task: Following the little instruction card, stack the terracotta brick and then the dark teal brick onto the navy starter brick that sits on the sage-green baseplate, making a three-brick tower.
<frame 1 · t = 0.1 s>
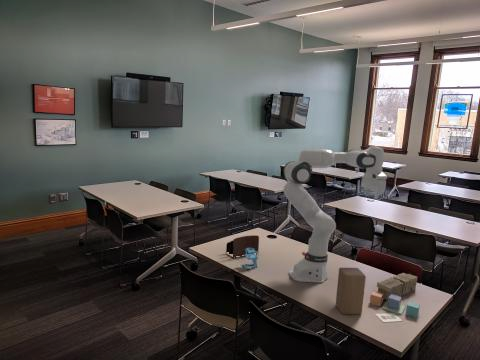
hand: (371, 197, 212), 48 cm above the table, fingers open, 8 cm apart
terracotta brick: (376, 303, 184), on the table
wooden block: (348, 310, 176), on the table
instruction card: (388, 317, 170), on the table
teal brick: (412, 314, 175), on the table
block tower: (396, 293, 195), on the table, touching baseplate
letter holder: (242, 254, 244), on the table
chair: (250, 267, 222), on the table
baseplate: (393, 308, 180), on the table
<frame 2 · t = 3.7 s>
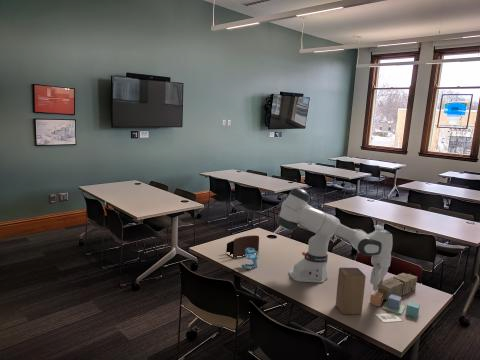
hand: (377, 287, 183), 9 cm above the table, fingers open, 8 cm apart
block tower: (396, 293, 195), on the table, touching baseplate, gripper
everything else where it was.
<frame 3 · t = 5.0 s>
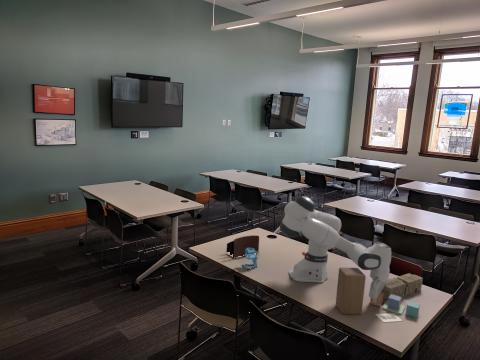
hand: (376, 299, 184), 2 cm above the table, fingers closed on terracotta brick, 5 cm apart
terracotta brick: (376, 302, 184), on the table, touching gripper
block tower: (399, 293, 197), on the table
everything else where it was.
when the fingers open (8 cm above the table, at t = 9.7 s): terracotta brick stays where it is, resting on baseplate.
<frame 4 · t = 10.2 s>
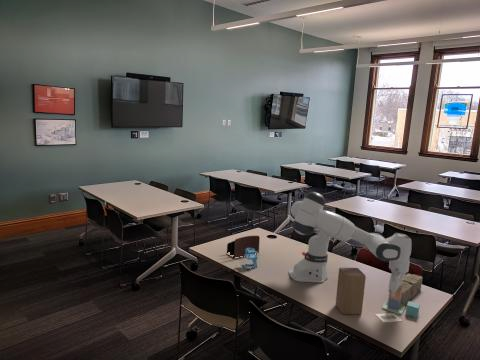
hand: (395, 292, 178), 8 cm above the table, fingers open, 8 cm apart
terracotta brick: (395, 297, 179), point 6 cm above the table, touching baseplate
block tower: (404, 295, 195), on the table
everything else where it was.
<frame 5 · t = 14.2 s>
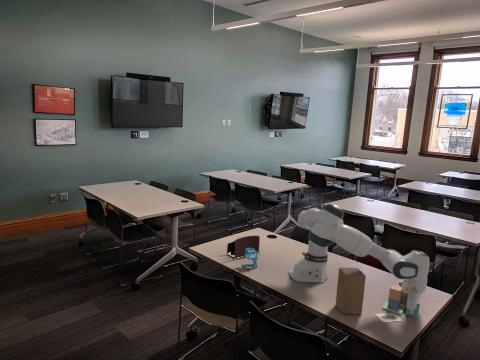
hand: (412, 310, 175), 2 cm above the table, fingers closed on teal brick, 5 cm apart
teal brick: (412, 314, 175), on the table, touching gripper
block tower: (408, 296, 194), on the table
everything else where it was.
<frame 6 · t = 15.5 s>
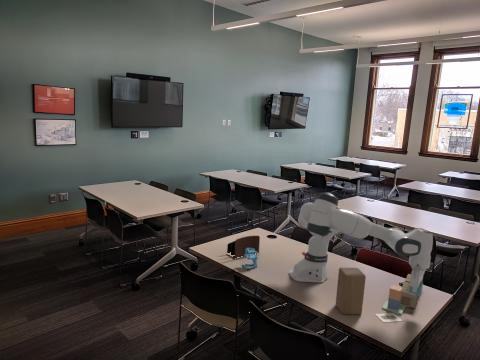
hand: (415, 289, 173), 13 cm above the table, fingers closed on teal brick, 5 cm apart
teal brick: (415, 292, 174), point 11 cm above the table, touching gripper
when the fingers open (13 cm above the table, at t = 19.5 s): teal brick stays where it is, resting on terracotta brick.
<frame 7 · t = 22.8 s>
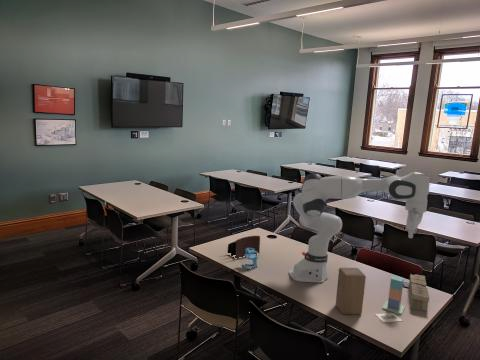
hand: (412, 235, 170), 39 cm above the table, fingers open, 8 cm apart
terracotta brick: (395, 297, 179), point 6 cm above the table, touching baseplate, teal brick
teal brick: (396, 288, 178), point 11 cm above the table, touching terracotta brick
block tower: (417, 298, 193), on the table
at the end: terracotta brick 0.0 cm off-centre on the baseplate, point 5.8 cm above the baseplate's base; teal brick 0.0 cm off-centre on the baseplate, point 10.8 cm above the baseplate's base; teal brick tilted 0° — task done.
